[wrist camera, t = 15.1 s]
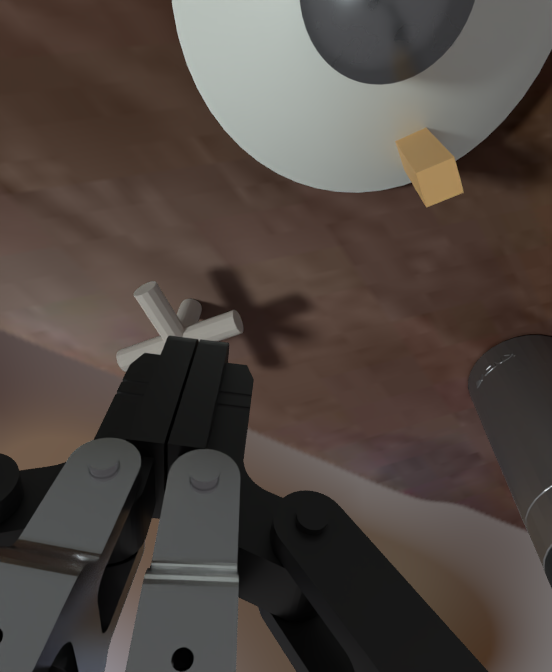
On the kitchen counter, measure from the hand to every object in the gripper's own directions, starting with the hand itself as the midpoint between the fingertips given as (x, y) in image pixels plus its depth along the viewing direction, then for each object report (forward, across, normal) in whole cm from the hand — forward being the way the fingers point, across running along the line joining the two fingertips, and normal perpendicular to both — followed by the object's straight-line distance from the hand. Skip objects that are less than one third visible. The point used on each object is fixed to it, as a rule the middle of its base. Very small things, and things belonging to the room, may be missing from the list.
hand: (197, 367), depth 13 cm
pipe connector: (+26, +5, +14) cm, 30 cm away
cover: (+24, -5, -9) cm, 26 cm away
